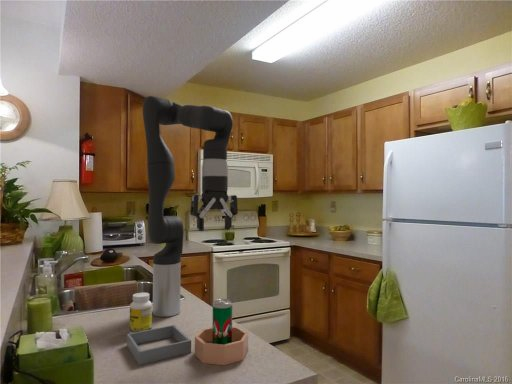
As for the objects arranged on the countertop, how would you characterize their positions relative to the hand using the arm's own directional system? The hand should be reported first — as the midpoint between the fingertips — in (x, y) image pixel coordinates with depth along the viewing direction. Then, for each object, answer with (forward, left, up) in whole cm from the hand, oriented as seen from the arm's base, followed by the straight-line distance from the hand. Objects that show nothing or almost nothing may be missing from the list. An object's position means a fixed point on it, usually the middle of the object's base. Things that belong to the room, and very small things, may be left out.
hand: (214, 230), depth 102 cm
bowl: (+13, -4, -30) cm, 33 cm away
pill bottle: (-12, -18, -30) cm, 37 cm away
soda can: (+13, -4, -29) cm, 32 cm away
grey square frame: (+2, -17, -30) cm, 35 cm away
